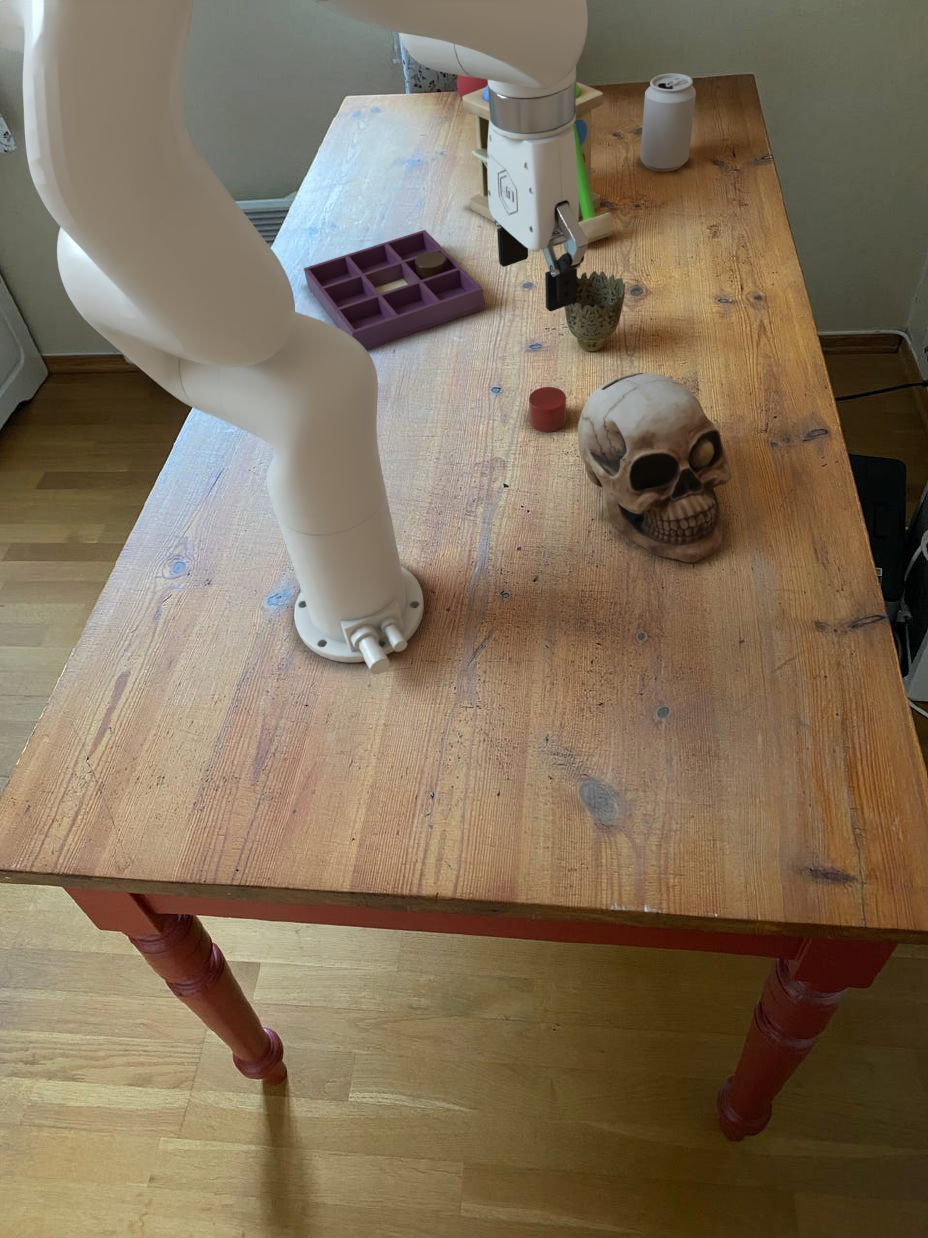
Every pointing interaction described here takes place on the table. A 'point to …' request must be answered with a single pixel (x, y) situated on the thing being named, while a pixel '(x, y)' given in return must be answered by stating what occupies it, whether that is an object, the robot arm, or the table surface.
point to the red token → (547, 409)
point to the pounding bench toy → (588, 200)
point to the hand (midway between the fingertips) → (536, 283)
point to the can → (667, 122)
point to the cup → (595, 310)
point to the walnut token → (430, 264)
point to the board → (392, 291)
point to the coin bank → (655, 464)
